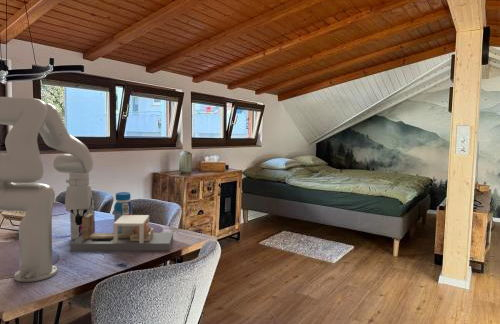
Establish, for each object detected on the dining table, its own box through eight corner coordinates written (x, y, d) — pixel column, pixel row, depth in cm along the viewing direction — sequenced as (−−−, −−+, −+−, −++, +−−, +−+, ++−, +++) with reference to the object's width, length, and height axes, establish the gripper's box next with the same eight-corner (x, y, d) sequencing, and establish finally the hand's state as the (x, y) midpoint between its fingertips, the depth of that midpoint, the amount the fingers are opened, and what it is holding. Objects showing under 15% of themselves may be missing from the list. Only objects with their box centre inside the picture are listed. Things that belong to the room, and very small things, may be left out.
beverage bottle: (110, 235, 165) (110, 194, 164) (118, 230, 174) (118, 191, 172) (128, 236, 165) (128, 195, 163) (134, 231, 173) (134, 192, 172)
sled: (149, 240, 149) (149, 219, 148) (81, 240, 146) (81, 218, 145) (153, 233, 159) (153, 213, 158) (89, 234, 156) (89, 213, 155)
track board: (169, 250, 148) (169, 223, 147) (70, 251, 143) (70, 223, 142) (173, 238, 163) (173, 214, 162) (84, 239, 159) (84, 214, 158)
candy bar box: (86, 233, 168) (85, 199, 167) (95, 233, 167) (95, 200, 166) (69, 239, 157) (69, 204, 156) (79, 240, 156) (79, 204, 155)
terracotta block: (147, 236, 151) (147, 225, 151) (135, 236, 151) (135, 225, 150) (148, 233, 156) (149, 222, 156) (137, 233, 156) (137, 222, 155)
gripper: (57, 183, 144) (57, 226, 145) (94, 184, 146) (94, 226, 147) (64, 181, 151) (64, 222, 153) (100, 181, 153) (100, 222, 155)
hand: (79, 224), depth 150 cm, fingers closed
